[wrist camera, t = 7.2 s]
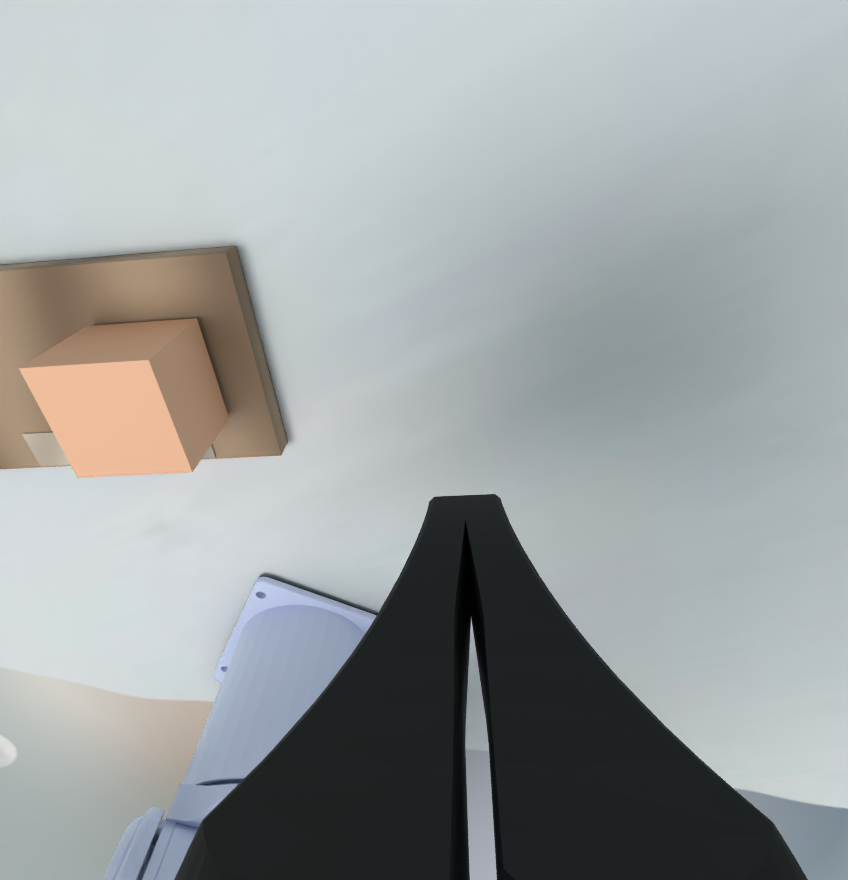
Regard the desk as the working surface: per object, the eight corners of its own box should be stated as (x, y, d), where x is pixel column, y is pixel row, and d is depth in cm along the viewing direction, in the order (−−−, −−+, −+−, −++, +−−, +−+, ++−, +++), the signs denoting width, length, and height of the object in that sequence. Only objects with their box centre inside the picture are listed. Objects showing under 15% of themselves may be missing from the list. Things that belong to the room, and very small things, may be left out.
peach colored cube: (196, 318, 18) (148, 359, 15) (229, 418, 20) (192, 472, 17) (86, 326, 19) (18, 368, 16) (129, 424, 21) (77, 477, 18)
